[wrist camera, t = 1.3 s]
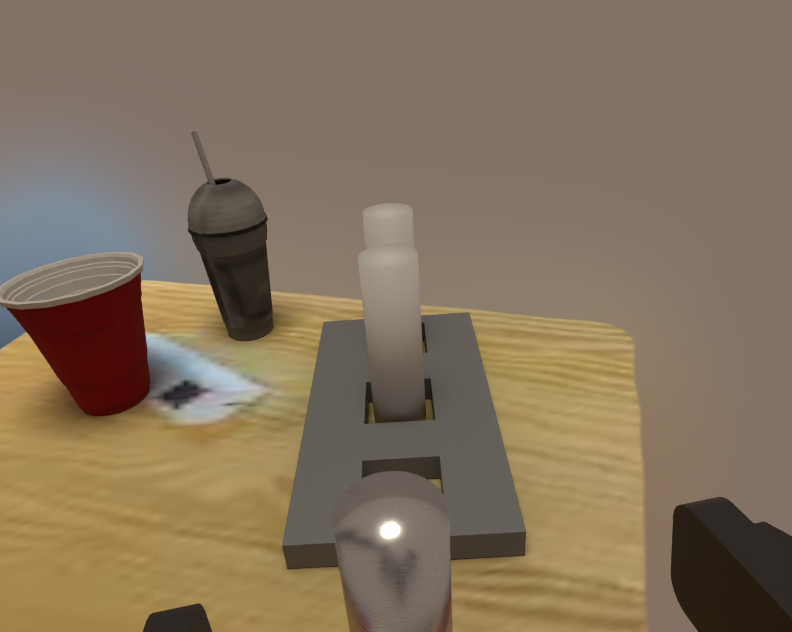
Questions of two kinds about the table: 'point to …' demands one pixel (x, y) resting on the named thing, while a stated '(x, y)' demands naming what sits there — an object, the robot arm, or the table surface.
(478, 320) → the table surface
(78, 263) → the plastic cup
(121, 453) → the table surface
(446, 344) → the pin board
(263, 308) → the beverage cup
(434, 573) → the steel pin
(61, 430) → the table surface
